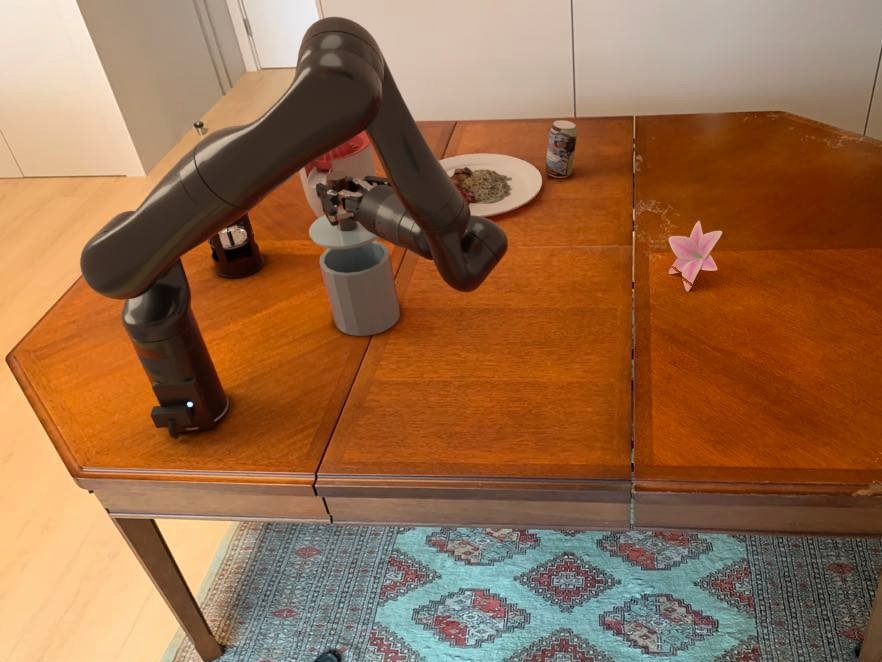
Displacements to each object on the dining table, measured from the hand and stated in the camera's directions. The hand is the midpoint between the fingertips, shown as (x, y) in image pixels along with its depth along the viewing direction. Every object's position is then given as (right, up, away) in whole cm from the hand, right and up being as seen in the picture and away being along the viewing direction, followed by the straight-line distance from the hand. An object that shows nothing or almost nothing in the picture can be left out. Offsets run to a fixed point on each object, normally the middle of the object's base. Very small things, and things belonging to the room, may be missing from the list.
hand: (329, 184), depth 130 cm
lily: (+62, -11, +21) cm, 67 cm away
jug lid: (+2, -7, +3) cm, 8 cm away
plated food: (+20, +12, +50) cm, 55 cm away
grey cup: (+3, -20, +15) cm, 25 cm away
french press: (-25, -8, +30) cm, 40 cm away
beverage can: (+39, +17, +54) cm, 69 cm away
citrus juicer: (-7, +4, +42) cm, 43 cm away
